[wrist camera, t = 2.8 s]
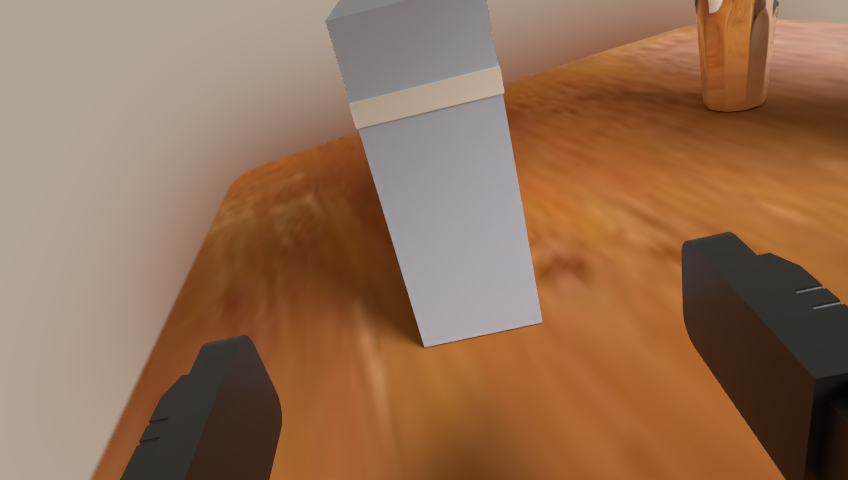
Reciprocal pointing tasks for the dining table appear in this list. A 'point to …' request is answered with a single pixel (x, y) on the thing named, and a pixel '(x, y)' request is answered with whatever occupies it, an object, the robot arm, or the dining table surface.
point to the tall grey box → (440, 159)
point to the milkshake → (735, 51)
